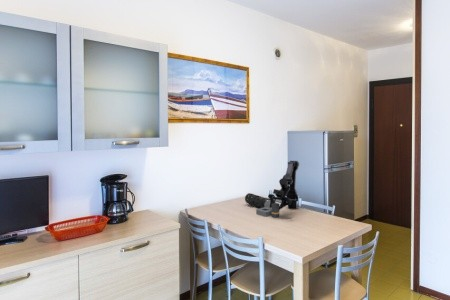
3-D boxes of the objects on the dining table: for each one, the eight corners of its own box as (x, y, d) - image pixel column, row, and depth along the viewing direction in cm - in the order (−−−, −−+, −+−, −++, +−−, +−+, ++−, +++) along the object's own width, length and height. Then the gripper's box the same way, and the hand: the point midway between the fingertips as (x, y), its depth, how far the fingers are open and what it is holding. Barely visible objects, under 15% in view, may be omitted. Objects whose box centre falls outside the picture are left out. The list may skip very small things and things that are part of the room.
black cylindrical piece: (253, 203, 273) (253, 192, 273) (273, 210, 249) (273, 198, 249) (244, 205, 269) (244, 193, 268) (264, 212, 244) (264, 199, 244)
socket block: (264, 212, 243) (264, 207, 243) (274, 215, 236) (274, 209, 235) (256, 215, 237) (256, 209, 237) (265, 218, 229) (266, 212, 229)
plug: (275, 217, 232) (275, 202, 231) (279, 218, 229) (279, 203, 228) (271, 218, 229) (271, 203, 228) (275, 219, 226) (275, 204, 225)
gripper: (269, 183, 237) (259, 199, 230) (289, 186, 223) (279, 204, 216) (276, 192, 242) (266, 208, 236) (295, 195, 228) (286, 213, 222)
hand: (274, 208), depth 227 cm, fingers open, 8 cm apart
